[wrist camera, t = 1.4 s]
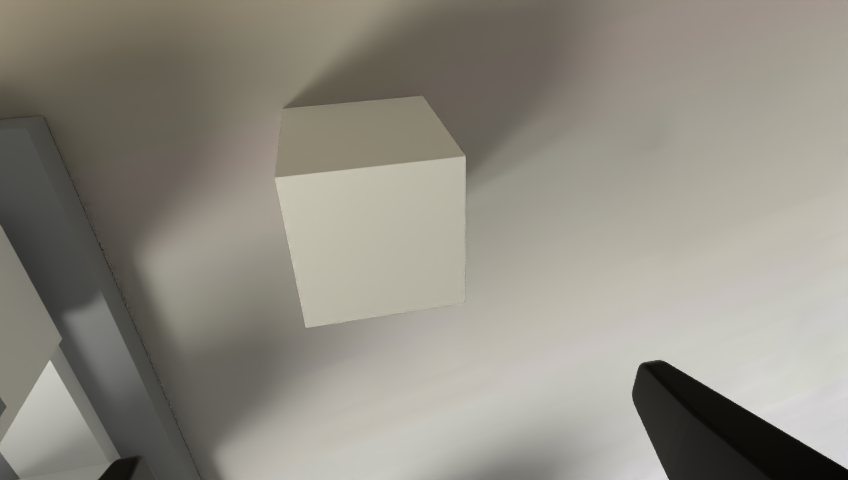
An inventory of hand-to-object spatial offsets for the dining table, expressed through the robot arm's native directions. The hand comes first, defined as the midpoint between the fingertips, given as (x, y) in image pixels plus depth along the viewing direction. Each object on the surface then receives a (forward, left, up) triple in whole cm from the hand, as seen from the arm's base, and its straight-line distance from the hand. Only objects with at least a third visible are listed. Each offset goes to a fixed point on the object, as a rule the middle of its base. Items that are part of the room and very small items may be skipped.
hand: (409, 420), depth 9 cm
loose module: (0, 0, -12) cm, 12 cm away
